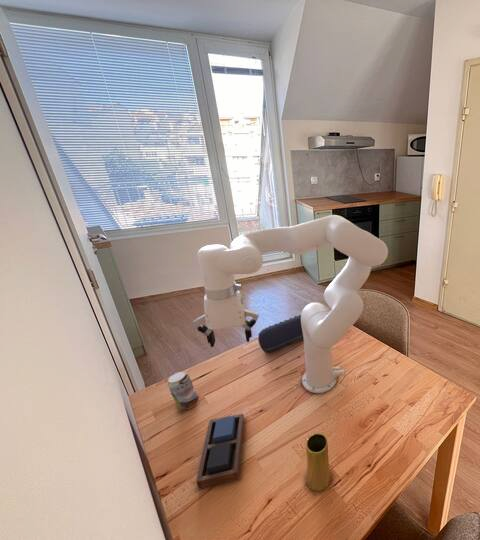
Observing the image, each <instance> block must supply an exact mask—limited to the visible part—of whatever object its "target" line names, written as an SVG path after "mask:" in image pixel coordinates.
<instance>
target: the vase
mask: <svg viewBox="0 0 480 540" xmlns="http://www.w3.org/2000/svg"><path fill="white" fill-rule="evenodd" d="M305 451H306V470H307V471H306V472H307V475H306V483H307V486H308V488H309V489H311V490H313V491H315V492H320V491H324V490H325V489H326V488H327V487H328V485H329V484H330V482H331V472H330V459H329V441H328V438H327V436H326V435H325V434H323V433H319V432H315V433H312V434H311V435H310V436H308V438H307V439H306V442H305Z"/></svg>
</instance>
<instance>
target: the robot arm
mask: <svg viewBox="0 0 480 540" xmlns="http://www.w3.org/2000/svg"><path fill="white" fill-rule="evenodd" d="M329 246H332V247H333V248H334V249H335V250H337V251H338V252H340V253H342V254H344V255H346V256H347V257H348V259H347V261H346V264H345V265H344V267H343V268H342V269H341V271H340V272H339V273H338V274H337V275H336V276H335V278H333V280H332V281H331V282H330V283H329V284H328V286H327V287H326V289H325V290H324V292H323V298H324V301H325V303H326V304H327V305H328V307H329V308H330V310H329V309H328V307H326V306H325V305H324V304H323V303H321V302H311V303H308V304H307V305H306V306H304V308H303V309H302V311H301V313H300V315H301V326H302V331H303V338H302V339H303V351H304V352H303V353H304V364H305V365H304V366H305V367H304V368H305V372H304V373H303V374H302V377H301V383H302V386H303V388H304V389H305V390H306V391H308V392H310V393H313V394H322V393H326V392H329V391H330V390H331V389H333V388H334V386H336V384H337V379H338V378H337V377H339V376H340V377H341V376H345V375H346V370H345V369H341V366H340V365H338V366H333V347H334V346H335V345H337V344H338V343H339V342H340V341H341V339H343V337H344V336H345V335H346V334H347V333H348V332H349V330H350V329H351V328H352V327H353V326H354V325H355V324H356V322H357V321H358V320H359V318H360V317H361V315H362V313H363V310H364V301H363V298H362V297H361V295H360V294H359V293H358V292H359V291H360V289H361V288H362V286H363V285H364V284H365V283H366V282H367V280H368V278H369V277H370V274H371V270H372V267H378V266H380V265H382V264H383V263H385V261H386V260H387V258H388V256H389V255H388V254H389V248H388V246H387V244H386V243H385V241H383V240H382V239H380V238H378V237H377V236H375V235H374V234H373V233H370V232H369V231H367V230H364V229H362V228H360V227H359V226H358V225H356V224H355V223H353V222H351V221H349V220H348V219H346V218H345V217H343V216H341V215H337V214H331V215H326V216H322V217H320V218H316V219H313V220H309V221H305V222H303V223H299V224H296V225H292V226H279V227H270V228H263V229H259V230H256V231H255V230H254V231H251V232H248V233H245V234H241V235H239V236H237V237H236V238H234V239H233V240H232V241H231V243H230V244H229V248H228V247H227V246H226V245H223V244H209V245H205V246H202V247H201V248H200V249H199V250H198V251H197V261H198V264H199V269H200V274H201V278H202V279H201V280H202V283H203V287H204V292H205V294H204V297H203V309H204V314H202V315H200V316H198V317H197V318H196V319H194V320H193V321H192V326H193V327H194V328H195V329H197V331H198V332H200V333H202V334H203V335H204V336H205V337H206V340H207V344H209V345H210V348H213V347H214V346H215V343H216V337H215V333H214V330H223V329H231V328H238V327H242V328H243V329H244V335H245V341H246V342H247V343H249V342H250V339H251V338H252V337H253V334H252V328H253V327H254V326H255V325H256V323H257V322H258V321H257V320H258V319H259V317H260V316H259V315H260V314H259V313H258V312H256V311H253V310H249V309H247V308H246V306H245V302H244V299H243V296H242V294H241V291H240V290H242V284H237V282H236V281H235V280H236V279H235V275H251V274H254V273H255V274H256V273H257V272H258V271H259V270H260V269H261V268H262V267H263V265H264V258H263V255H266V254H270V253H277V252H278V253H279V252H280V253H281V252H283V253H288V254H292V255H297V256H302V255H306V254H309V253H313V252H315V251H318V250H321V249H324V248H328V247H329ZM247 317H250V318H251V319H250V320H248V319H247ZM204 322H205V324H206V325H205V324H202V323H204Z"/></svg>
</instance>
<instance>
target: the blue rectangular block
mask: <svg viewBox="0 0 480 540" xmlns="http://www.w3.org/2000/svg"><path fill="white" fill-rule="evenodd" d="M232 416H233V415H232ZM227 417H228V416H227ZM222 418H223V417H222ZM217 419H218V418H217ZM235 432H236V422H235V417H234V416H233V417H228V418H223V419H218V420H216V425H215V430H214V435H213V440H214V444H217V443H222V442H226V441H231V440H235Z"/></svg>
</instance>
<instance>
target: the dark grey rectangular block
mask: <svg viewBox="0 0 480 540" xmlns="http://www.w3.org/2000/svg"><path fill="white" fill-rule="evenodd" d="M232 455H233V450H232V446H231V442H230V443H225V444H221V445H216V446H211V450H210V455H209V460H208V465H207V471H208V474H209V475H211V474H215V473H220V472H224V471H228V470H231V463H232Z"/></svg>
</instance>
